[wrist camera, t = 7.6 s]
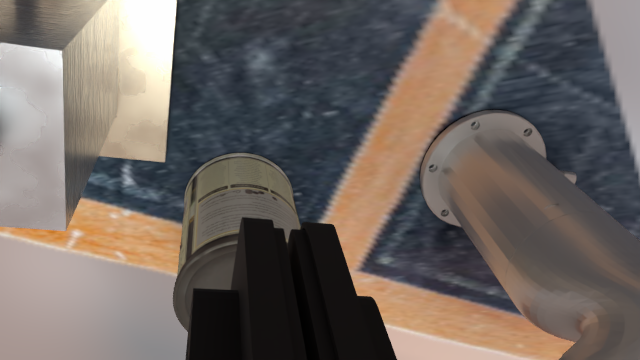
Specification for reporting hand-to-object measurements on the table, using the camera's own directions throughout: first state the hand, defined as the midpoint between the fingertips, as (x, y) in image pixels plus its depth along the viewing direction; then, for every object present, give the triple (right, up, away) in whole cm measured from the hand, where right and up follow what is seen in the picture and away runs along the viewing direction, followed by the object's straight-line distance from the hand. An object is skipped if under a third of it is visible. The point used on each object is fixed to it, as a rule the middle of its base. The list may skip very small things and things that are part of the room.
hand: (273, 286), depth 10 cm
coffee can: (-7, 0, +42) cm, 42 cm away
